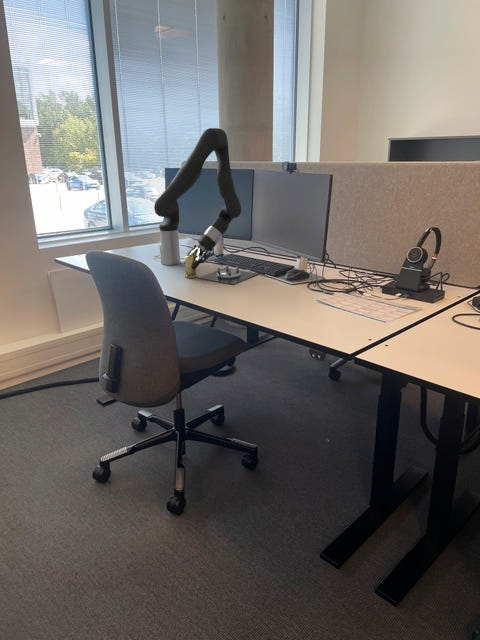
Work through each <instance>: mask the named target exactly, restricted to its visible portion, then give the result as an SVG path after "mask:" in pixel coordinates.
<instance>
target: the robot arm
mask: <svg viewBox="0 0 480 640" xmlns="http://www.w3.org/2000/svg"><path fill="white" fill-rule="evenodd" d="M213 152H214V153H215V156H216V162H217V167H216V168H217V170H216V181H217V187H218V190H219V194H220V197H221V199H223V201H224V206H223V207H222V209H221V210H220V211H219V213H218V215H217V216H216V218H215V219H214V220H213V222H212V223H211V225H210V226H209V227H208V228H207V229H206V230H205V232H204V233H203V234H202V235H201V237H200V238H199V239H198V240H197V241H198V245H196V244H194V245H193V246H192V248H191V249H190V250H189V251H188V253H187V254H186V255H195V262H194V263H193V265H192V266H191V268H192V269H194V270H195V269H197V268H198V266H199V265H200V264H204V263H205V262H206V260H207V259H208V258H209V256H210V255H211V254H212V253H211V252H212V251H213V250H214V248H215V247H216V246H217V244H218V243H219V242H220V240H221V239H222V237H223V236H224V235H225V233H226V232H227V230H228V229H229V225H230V224H231V222H232V221H233V219H235V218H238V217H240V216H241V213H242V206H241V203H240V199H239V198H238V195H237V193H236V188H235V185H234V179H233V175H232V169H231V164H230V163H231V161H230V151H229V140H228V135H227V133H226V131H225V130H223V129H222V128H219V127H214V128H213V127H210V128H207V129H206V130H204V131H203V132H202V134H201V136H200V137H199V140H197V143H196V145H195V147H194V149H192V151H191V153H190V154H189V156H188V157H187V158H186V160H185V161H184V162H183V164H182V165H181V167H180V169H178V171H177V173H176V174H175V176H174V177H173V179H172V180H171V182H170V183H169V184H168V186H167V187H166V189H165V190H164V191H163V192H162V193H161V194H160V196H158V198H157V199H156V200H155V203H154V206H153V209H154V212H155V214H156V215H157V216H158V217H161V218H163V220H162V221H161V223H160V224H159V226H158V227H159V238H160V239H159V240H160V245H159V255H160V263H161V264H163V265H165V266H174V265H179V264H180V263H181V252H180V250H181V249H180V239H179V224H180V207H179V203H178V199H179V198H181V196H183V195H184V194H185V193H187V192H188V191H189V190H190V189H191V188H192V187H193V186H194V185H195V184H196V183H197V181H198V180H199V178H200V177H201V175H202V172H203V167H204V164H205V162H206V161H207V159H208V158H209V156H210V155H211V154H212V153H213ZM183 265H185V261H184V262H183Z"/></svg>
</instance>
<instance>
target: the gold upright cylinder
mask: <svg viewBox="0 0 480 640" xmlns="http://www.w3.org/2000/svg"><path fill="white" fill-rule="evenodd" d="M195 261H196V258H195V255H187V254H186V255H185V256H184V262H185V264H184V265H185V274H184V275H185V279H189V280H190V279H191V280H192V279H196V278H198V274H197V270H196V269H197V268H196V269H195V270H194V269H192V268H191V266H192V265H193V263H194V262H195Z"/></svg>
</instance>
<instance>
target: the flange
mask: <svg viewBox="0 0 480 640" xmlns="http://www.w3.org/2000/svg"><path fill="white" fill-rule="evenodd" d="M258 275H260V274H259V273H257V272H252V271H247V270H246V271H245V270H240V266H236V267H235V268H229V265H228V264H225V267H223V268H220V267H217V270H215V271H212V272H210V273H207V274H204V275H201V276H199V277H198V276H197V279H200V280H205V281H210V282H215V283H221V284H224V285H225V284H226V285H231V286H234V285H237V284H240V283H241V282H244V281H246V280H248V279H251V278H254V277H256V276H258Z"/></svg>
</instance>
